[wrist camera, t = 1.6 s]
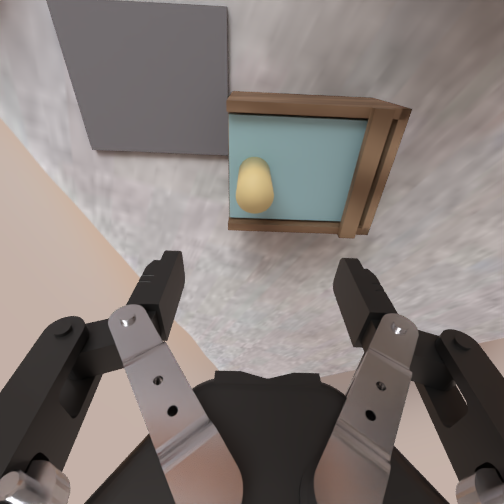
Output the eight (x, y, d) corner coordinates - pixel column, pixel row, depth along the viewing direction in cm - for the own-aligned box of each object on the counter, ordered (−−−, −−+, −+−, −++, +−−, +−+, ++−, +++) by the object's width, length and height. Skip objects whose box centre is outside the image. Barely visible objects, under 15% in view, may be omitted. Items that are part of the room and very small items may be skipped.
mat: (49, -3, 23) (45, -4, 23) (227, 7, 24) (226, 6, 23) (94, 148, 31) (92, 149, 31) (228, 153, 31) (228, 155, 31)
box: (232, 91, 28) (225, 101, 20) (372, 97, 28) (417, 110, 20) (233, 196, 35) (227, 234, 27) (344, 200, 35) (370, 238, 27)
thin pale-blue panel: (229, 112, 23) (222, 127, 17) (385, 120, 23) (424, 136, 18) (230, 213, 28) (225, 246, 23) (355, 218, 29) (377, 251, 24)
